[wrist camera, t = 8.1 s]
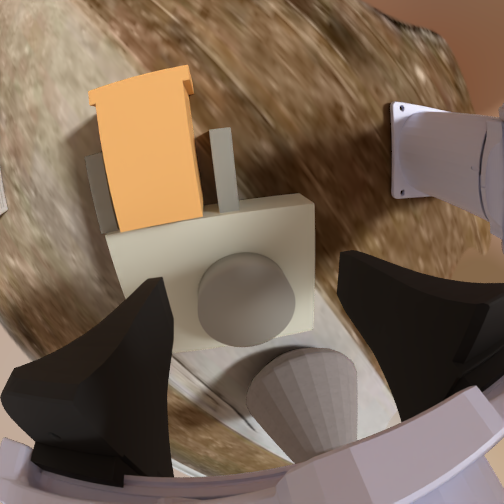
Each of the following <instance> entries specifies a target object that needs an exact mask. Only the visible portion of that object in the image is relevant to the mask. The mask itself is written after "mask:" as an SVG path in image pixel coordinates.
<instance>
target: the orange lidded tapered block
mask: <svg viewBox="0 0 504 504" xmlns="http://www.w3.org/2000/svg"><path fill="white" fill-rule="evenodd" d="M88 94H89V104H90V106H95V107H96V111H97V119H98V127H99V134H100V140H101V146H102V152H103V158H104V163H105V168H106V173H107V178H108V183H109V187H110V192H111V196H112V201H113V205H114V209H115V213H116V217H117V221H118V224H119V228H120V232H126V231H131V230H136V229H140V228H145V227H150V226H155V225H161V224H166V223H171V222H176V221H182V220H187V219H193V218H198V217H203V191H202V185H201V179H200V172H199V166H198V160H197V153H196V146H195V139H194V132H193V125H192V118H191V110H190V103H189V95H192V94H194V91H193V83H192V79H191V75H190V71H189V67H188V65H184V66H179V67H174V68H169V69H164V70H159V71H155V72H151V73H147V74H143V75H139V76H135V77H131V78H128V79H124V80H121V81H118V82H114V83H111V84H108V85H105V86H102V87H99V88H96V89H93V90H91V91H88Z"/></svg>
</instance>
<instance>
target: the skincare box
mask: <svg viewBox="0 0 504 504" xmlns="http://www.w3.org/2000/svg"><path fill="white" fill-rule="evenodd" d="M7 210H8V208H7V203H6V199H5V194H4V188H3V183H2V177H1V170H0V215H1V214H3V213H4V212H6V211H7Z"/></svg>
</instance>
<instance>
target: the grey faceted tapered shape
mask: <svg viewBox="0 0 504 504" xmlns="http://www.w3.org/2000/svg"><path fill="white" fill-rule="evenodd" d="M246 405H247V407H248V409H249V411H250V413H251V415H252V416H253V417H254V418H255V420H256V421H257V422H258V423H259V424H260V426H261V427H262V428H263V429H264V430H265V431H266V432H267V434H268V435H269V436H270V437H271V438H272V439H273V440H274V442H275V443H276V444H277V445H278V446H279V447H280V448H281V449H282V450H283V451H284V452H285V454H286V455H287V456H288V457H289V458H290V459H291V460H292V461H293V462H294V463H295V464H297V463H301V462H305V461H307V460H309V459H311V458H313V457H315V456H318V455H321V454H323V453H326V452H329V451H331V450H334V449H336V448H339V447H341V446H344V445H346V444H349V443H352V442H355V441H357V371H356V368H355V366H354V363H353V362H352V361H351V360H350V359H349V358H348V357H346V356H345V355H344V354H342V353H340V352H338V351H335V350H332V349H327V348H300V349H295V350H292V351H288V352H286V353H284V354H282V355H280V356H278V357H276V358H275V359H273V360H272V361H271V362H269V364H268V365H266V366H265V367H264V368H263V369H262V370H261V371H260V372H259V373H258V374H257V375H256V376H255V377H254V379H253V381H252V383H251V385H250V387H249V389H248V392H247V399H246Z"/></svg>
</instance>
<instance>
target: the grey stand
mask: <svg viewBox="0 0 504 504" xmlns="http://www.w3.org/2000/svg"><path fill="white" fill-rule="evenodd" d="M209 136H210V144H211V153H212V161H213V169H214V177H215V184H216V192H217V200H218V203H217V204H210V205H204V206H203V217H198V218H193V219H187V220H182V221H176V222H171V223H166V224H161V225H155V226H150V227H145V228H140V229H136V230H131V231H126V232H120V228H119V224H118V221H117V217H116V213H115V209H114V205H113V201H112V196H111V192H110V187H109V183H108V178H107V173H106V168H105V163H104V158H103V152H100V153H96V154H93V155H90V156H86V157H85V162H86V168H87V173H88V179H89V184H90V189H91V193H92V198H93V202H94V207H95V211H96V215H97V219H98V223H99V227H100V230H101V234H104V233H107V234H106V235H105V237H106V241H107V244H108V248H109V251H110V254H111V258H112V261H113V264H114V267H115V270H116V273H117V276H118V279H119V282H120V285H121V288H122V291H123V294H124V297H125V299H127V298H128V297H129V296H130V295H131V294H132V293H133V292H134V291H135V290H136V289H137V288H138V287H139V286H140V285H141V284H142V283H143V282H144V281H145V280H147V279H148V278H156V277H163V280H164V284H165V288H166V292H167V296H168V299H169V303H170V307H171V310H172V314H173V317H174V341H173V349H172V353H179V352H188V351H196V350H204V349H211V348H218V347H225V346H234V347H250V346H255V345H259V344H262V343H265V342H267V341H269V340H271V339H273V338H277V337H282V336H287V335H291V334H296V333H301V332H305V331H310V330H313V320H314V291H315V206H314V203H313V202H312V201H310V200H309V199H307V198H306V197H304V196H303V195H301V194H300V193H295V194H286V195H278V196H269V197H261V198H253V199H245V200H238V191H237V182H236V173H235V164H234V155H233V146H232V137H231V127H229V128H220V129H212V130H209Z"/></svg>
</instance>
